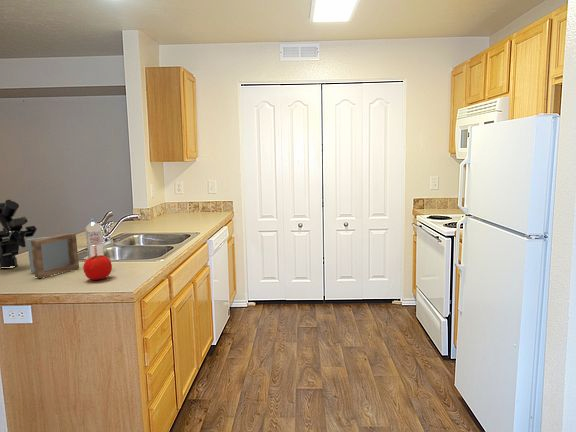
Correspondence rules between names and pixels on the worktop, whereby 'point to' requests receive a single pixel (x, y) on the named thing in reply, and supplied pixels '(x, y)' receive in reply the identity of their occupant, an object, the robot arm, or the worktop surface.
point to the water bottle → (94, 239)
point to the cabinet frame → (73, 265)
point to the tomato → (97, 267)
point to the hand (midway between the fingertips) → (24, 246)
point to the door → (51, 254)
